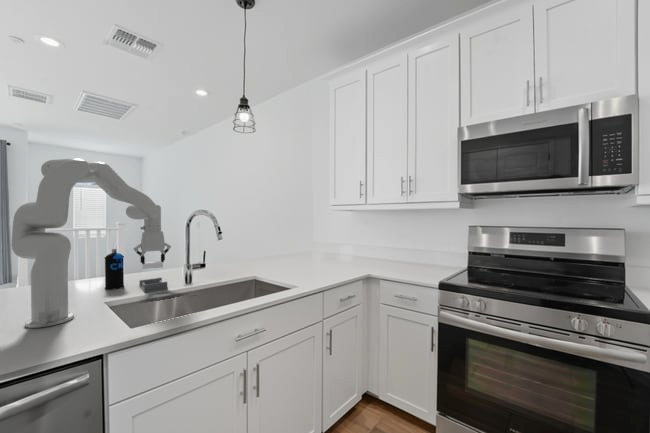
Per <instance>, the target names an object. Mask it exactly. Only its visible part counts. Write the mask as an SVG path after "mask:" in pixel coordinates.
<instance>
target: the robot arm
mask: <svg viewBox="0 0 650 433" xmlns="http://www.w3.org/2000/svg"><path fill="white" fill-rule="evenodd" d="M40 172H41V174H42V176H43V177H42V178H41V180H40V182H39V185H38V188H37V195H36V200H35V201H32V202H26V203H24V204H22V205H20V206H19V207H18V208H17V209H16V210H15V212H14V216H13V220H12V221H13V222H12V230H11V231H12V232H11V249H12V250H11V251H12V252H13V253H14V255H16V256H17V257H19V258H21V259H26V260H28V259H31V260H34V262H33V264H32V267H31V271H30V300H31V301H30V302H31V303H30V306H31V314H30V315H31V318H30V319H28V320H27V321H26V322H25V323H24V326H25V327H26V328H27V329H28V328H29V329H37V328H46V327H51V326H56V325H57V326H58V325H60V324H64V323H66V322H69V321H71V320H72V319H73V318H74V317H75V314H74V313H73V312H70V311H69V282H68V281H69V275H68V274H69V273H68V271H69V269H68V268H69V267H68V266H69V258H70V254H71V249H72V248H71V247H72V243H71V240H70V239H69V237H67V235H64V234H62V233H59V232H51V231H49V232H48V231H47V232H46V229H58V228H62V227H64V226H65V225H66V224H67V223H68V218H69V206H70V196H71V192H72V190H73V188H74V186H75V185H76V184H79V183H82V184H86V183H87V184H89V183H92V184H93V183H94V184H96V185H97V187H99V188H101V189H102V190H103V191H104V192H105V193H106V194H107V195H108V196H109V197H110V198H111V199H113V200H116V201H119V202H122V203H127V204H130V205H128V206H127V207H126V209H125V214H126V216H127V217H128V218H130V219H132V220H143V226H140V230H142V232H141V240H140V243H139V244H138V245H136V246H135V247H133V250H134V252H135V253H136V254H137V255H139V256H140V263H141V264H142V265H143V264H145V259H146V258H145V254H146V252H147V253H148V252H160V253H161V254H160V261H161V262H163V263H164V262H165V260H166V254H167V253H168V252H169V251H170V249H171V248H172V245H170V244H168V243H166V242H165V236H164V235H165V234H164V231H162V208H161V205H159V204H156V203H155V202H154V201H153V200H152V198H150V197H149V196H148V195H147V194H145V193H144V192H141V191H140V190H138V189H136V188H135V187H132V186H131V185H128V183H127V182H125V180H123V179H122V177H121V176H120V175H119V174H118V173H117V172H116V171H115V170H114V169H113V168H112V167H111V166H110V165H109V164H107V163H106V162H103V161H102V162H101V161H91V162H89V161H87V160H84V159H81V158H62V159H61V158H59V159H58V158H57V159H50V160H47V161H45V162H44V163H43V164H42V165H41V166H40ZM165 247H166V248H165ZM139 249H140V250H141V252H140V250H139Z"/></svg>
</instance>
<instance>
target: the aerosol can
mask: <svg viewBox="0 0 650 433" xmlns="http://www.w3.org/2000/svg"><path fill="white" fill-rule="evenodd" d="M117 250H118V249H117V248H112V249H111V253H110V254H107V255H106V256H105V257H104V274H105V275H104V277H105V278H104V283H105V284H104V285H105V287H104V290H108V291H110V290H119V289H122V288H124V287H125V285H124V284H125V283H124V282H125V281H124V278H125V277H124V273H125V272H124V257H125V256H124V255H123V254H121V253H120V252H117Z"/></svg>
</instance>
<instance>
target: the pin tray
mask: <svg viewBox="0 0 650 433" xmlns="http://www.w3.org/2000/svg"><path fill="white" fill-rule="evenodd" d="M138 286H139V288H140V289H141V290H142V291H143V293H144V294H146V293H152V292H159V291H160V292H161V291H166V290H169V287H168V281H163V277H156V278H147V279H140V280H139V285H138Z"/></svg>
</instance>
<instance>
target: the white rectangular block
mask: <svg viewBox="0 0 650 433" xmlns="http://www.w3.org/2000/svg"><path fill="white" fill-rule="evenodd" d="M141 267H142V268H141V269H142V270H147V269H159V268H161V269H162V268H164V262H161V260H159V261H147V262H145V264H142V266H141Z"/></svg>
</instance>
